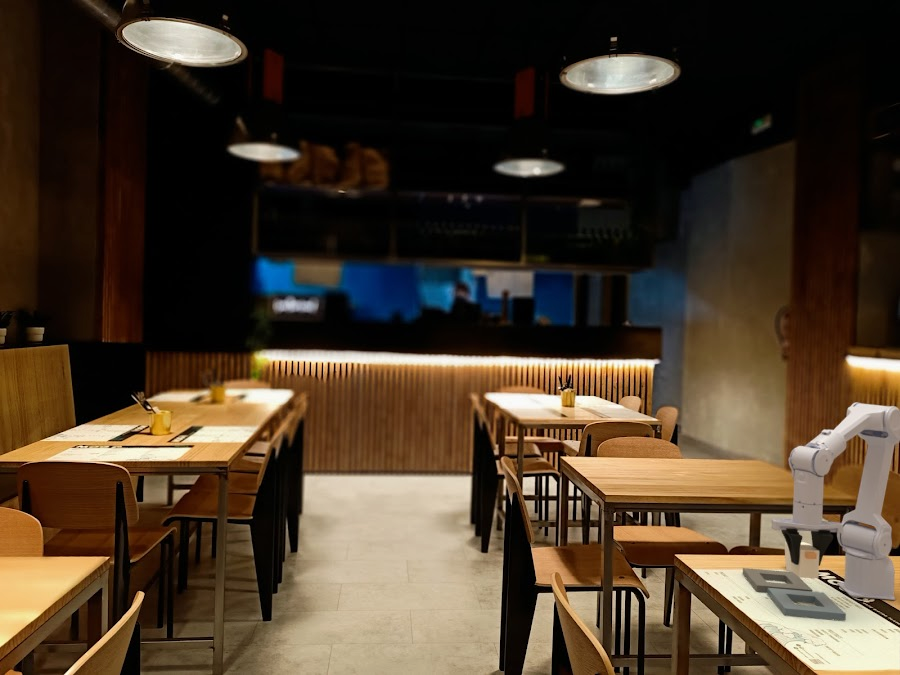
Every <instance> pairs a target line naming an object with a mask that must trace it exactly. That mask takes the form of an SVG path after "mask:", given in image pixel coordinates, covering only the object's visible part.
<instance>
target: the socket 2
mask: <svg viewBox="0 0 900 675" xmlns="http://www.w3.org/2000/svg"><path fill="white" fill-rule="evenodd" d="M766 594H767V595H768V597H769V598H770V599H771V600H772V602H773V603H774V604H775V605H776V607H777V608H778V609H779V610H780V612H781V613H782V614H783V615H784V616H788V617H789V616H790V617H797V618H798V617H800V618H810V619H820V620H821V619H822V620H830V619H834V620H833V621H840V620H846V621H847V618H846V617H847V616H846V615H847V614H846V612H845V611H844V610H842V608H840V607H839V605H837V604H836V602H834V601H833V600H832V599H831V598H830V597H829V596H828V595H826V594H825V593H824V592H823V591H821V592H820V591H812V592H811V591H800V590H788V589H777V588H767V593H766ZM795 602H799V603H801V602H802V603H810V604H814V605H807V604H799V603H798V604H797V603H795Z"/></svg>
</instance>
